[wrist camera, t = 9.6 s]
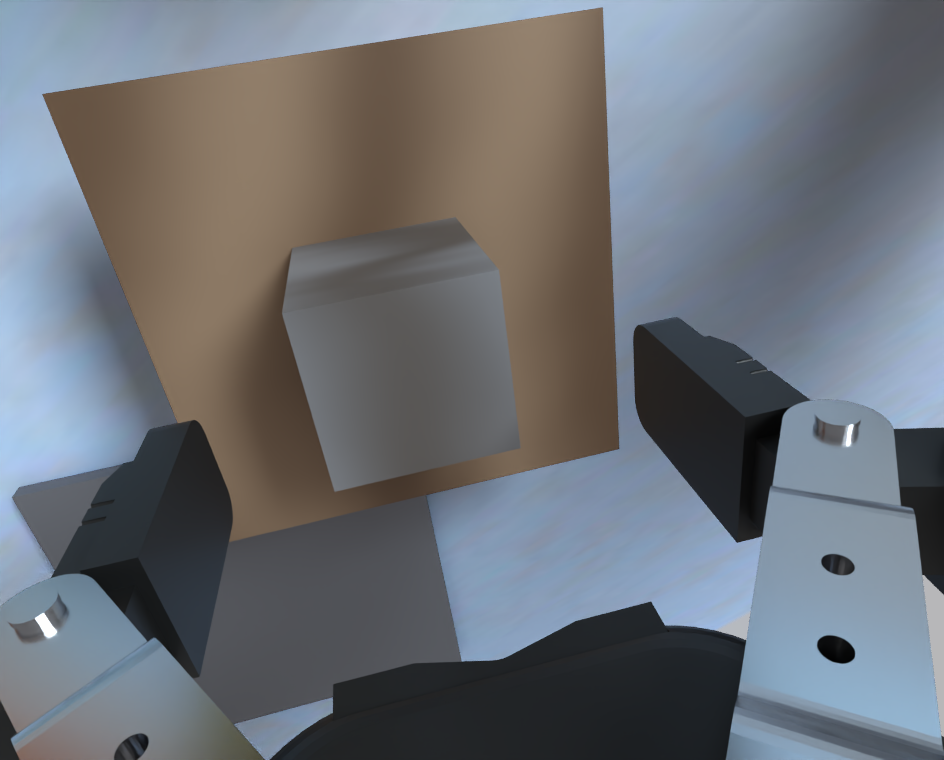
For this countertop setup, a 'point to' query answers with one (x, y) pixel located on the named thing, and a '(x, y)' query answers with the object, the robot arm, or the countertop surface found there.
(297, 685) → the mat
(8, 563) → the countertop surface
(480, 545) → the countertop surface
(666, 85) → the countertop surface
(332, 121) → the lid
